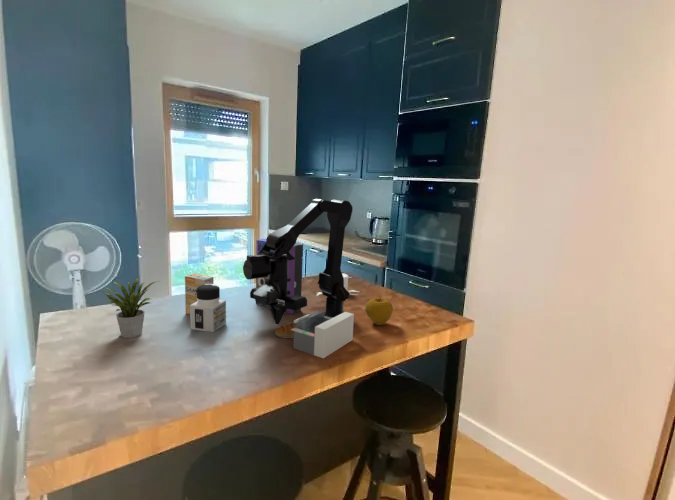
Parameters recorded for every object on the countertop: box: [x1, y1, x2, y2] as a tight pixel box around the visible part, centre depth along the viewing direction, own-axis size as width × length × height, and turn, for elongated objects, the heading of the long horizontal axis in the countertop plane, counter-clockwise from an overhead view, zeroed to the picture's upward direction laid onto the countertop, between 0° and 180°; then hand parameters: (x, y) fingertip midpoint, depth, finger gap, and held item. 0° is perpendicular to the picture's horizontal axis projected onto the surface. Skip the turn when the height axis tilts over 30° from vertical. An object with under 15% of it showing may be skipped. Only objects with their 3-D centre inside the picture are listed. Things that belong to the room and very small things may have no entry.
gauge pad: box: [293, 309, 325, 334], centre depth 108 cm, size 13×2×8 cm, turn 147°
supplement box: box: [184, 273, 215, 315], centre depth 124 cm, size 8×5×13 cm, turn 68°
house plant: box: [103, 277, 160, 339], centre depth 107 cm, size 14×14×16 cm
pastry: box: [274, 321, 296, 339], centre depth 112 cm, size 9×7×4 cm
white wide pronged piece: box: [316, 272, 359, 297], centre depth 156 cm, size 20×19×8 cm
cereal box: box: [255, 238, 304, 315], centre depth 133 cm, size 17×5×24 cm, turn 56°
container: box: [189, 284, 227, 333], centre depth 114 cm, size 8×8×13 cm
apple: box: [364, 297, 394, 326], centre depth 123 cm, size 9×9×9 cm
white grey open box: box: [291, 311, 355, 359], centre depth 106 cm, size 15×11×8 cm
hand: (277, 323), depth 116 cm, fingers closed
